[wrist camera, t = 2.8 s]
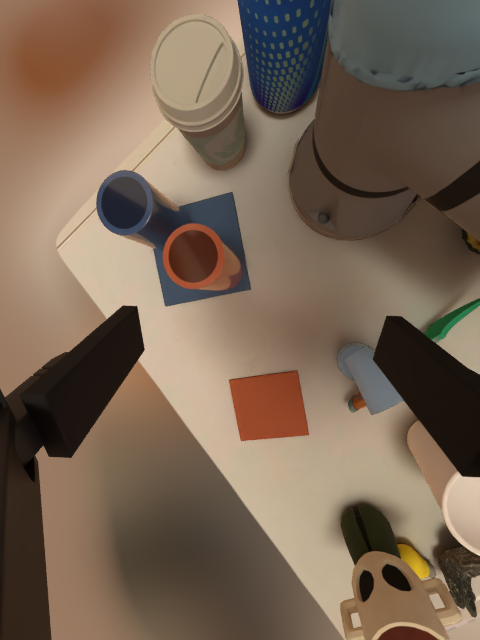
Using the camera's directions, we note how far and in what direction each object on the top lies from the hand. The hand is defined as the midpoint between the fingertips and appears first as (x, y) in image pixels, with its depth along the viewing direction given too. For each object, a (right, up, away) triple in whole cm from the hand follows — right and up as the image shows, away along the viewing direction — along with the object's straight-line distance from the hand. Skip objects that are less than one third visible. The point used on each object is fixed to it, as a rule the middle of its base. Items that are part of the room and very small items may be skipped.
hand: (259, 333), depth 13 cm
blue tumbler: (-10, +13, +21) cm, 27 cm away
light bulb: (+22, -29, +19) cm, 42 cm away
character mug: (+16, -27, +21) cm, 37 cm away
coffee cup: (-3, +24, +19) cm, 31 cm away
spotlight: (+14, -5, +19) cm, 24 cm away
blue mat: (-7, +10, +21) cm, 24 cm away
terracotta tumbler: (-4, +8, +20) cm, 22 cm away
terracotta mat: (+3, -11, +21) cm, 24 cm away
